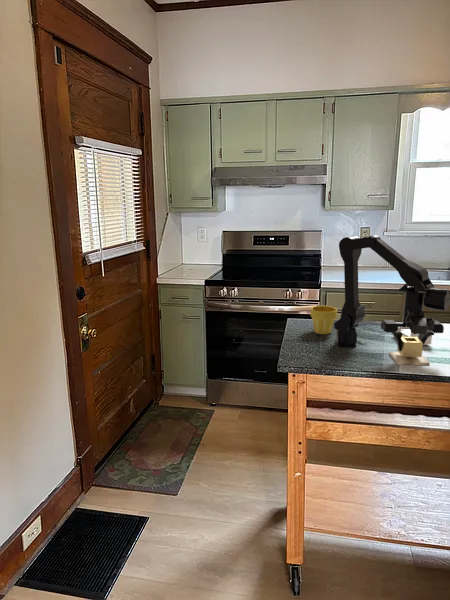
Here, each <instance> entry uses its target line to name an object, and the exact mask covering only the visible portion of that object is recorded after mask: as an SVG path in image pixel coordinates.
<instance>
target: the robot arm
mask: <svg viewBox="0 0 450 600" xmlns="http://www.w3.org/2000/svg"><path fill="white" fill-rule="evenodd" d="M338 248H339V253H340V254H339V255H340V257H341V259H342V261H343V269H344V271H343V273H344V277H343V278H344V303H343V306H342V307H341V313H340V318H339V319H338V320H336V322H335V321H334V324H333V328H334V330H336V339H335V340H334V341H335V343H336V345H337V347H349V348H350V347H352V348H353V347H357V343H358V342H357V340H358V333H357V329H356V328H358V327H359V324H361V323H362V322H363V321H364V317H366V313H365V305H362V304H361V302H360V299H359V261H360V258H361V255H362V250H363V249H366V248H368V249H371V250H372V251H374V253H376V254H377V255H378V256H379V257H380V258H382V259H383V260H384V261H385V262H387V264H389V265H390V266H391V267H393V268H394V269H395V270H396V271H397V273H398V275H399V277H400V278H401V279H402V280H403V282H404V283H405V284H403V286H401V287H400V288H399V289H398V291H399V292H404V293H405V294H404V303H403V304H404V305H403V306H402V310H403V317H402V318H401V322H396V321H395V320H394V319H382V320H381V322H380V329H381V330H383V332H385V333H391V334H392V336H393V335H394V337H393V338H394V339H395V342H396V346H397V347H398V349H399V351H401V339H402V335H403V333H401V329H410V330H411V333H413V334H419V338H418V339H419V340H421V341H422V342H423V346H425V345H424V343H425V341H426V340H427V338H428V337H430V336H431V335H432V336H435V334H444V329H445V327H444V324H442V323H441V322H440V321H438V320H435V319H434V317H425V311H424V307H426V308H427V309H431V310H436V311H443V312H447V311H448V310H449V308H450V293H449V292H450V290H449V288H436V287H435V285H434V284H433V282H432V281H431V279H430V277H429V271H428V270H427V269H426V268H425V267H423V266H422V265H419V264H418V263H416V262H414V261H410V260H409V259H406V258H405V257H404V256H403V255H401V253H399V252H398V251H397V250H395V249H394V248H393V247H391V246H390V245H389V243H387V242H385V241H384V240H383V239H382V238H381V237H380V236H379V235H378V234H377V235H375V234H374V235H370V236H366V237H359V236H357V235H353V236H347V237H343V238H341V240H340V241H339V243H338Z"/></svg>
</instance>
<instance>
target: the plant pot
mask: <svg viewBox="0 0 450 600" xmlns="http://www.w3.org/2000/svg"><path fill="white" fill-rule="evenodd" d="M310 317H311V318H312V324H313V330H314V331H313V332H314V333H316V334H319V335H329V333H330V334H331V333H332V331H333V328H334V323H335V320H336V319H337V318H338V309H337V308H336V307H333V306H330V305H315V306H312V307H311V309H310Z"/></svg>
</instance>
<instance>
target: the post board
mask: <svg viewBox="0 0 450 600" xmlns="http://www.w3.org/2000/svg"><path fill="white" fill-rule="evenodd" d="M388 354H389V356H390V357H391V359H393V360H394V361H395V363H396V364H397V365H398V366H399V365H403V366H405V365H407V366H430V365H431V364H430V361H428V360H427V358H426V357H425V356H423V355H422V357H403V356H402V355H401V354H400V353H399V352H398V351H389V353H388Z"/></svg>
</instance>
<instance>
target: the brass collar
mask: <svg viewBox="0 0 450 600" xmlns="http://www.w3.org/2000/svg"><path fill="white" fill-rule="evenodd" d="M423 347H424V345H423V342H422V341H421V340H419V339H418V338H417V337H402V339H401V351H399V349H398V346H397V349H396V350H397V351H396V352H399V353H400V354H401V355H402V356H403V357H422V356H423Z"/></svg>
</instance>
